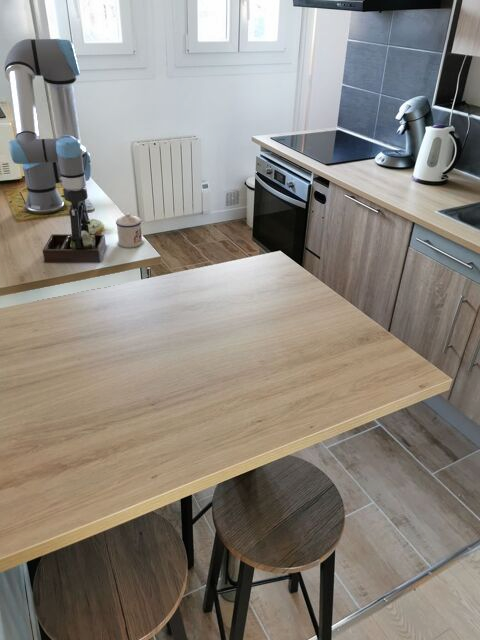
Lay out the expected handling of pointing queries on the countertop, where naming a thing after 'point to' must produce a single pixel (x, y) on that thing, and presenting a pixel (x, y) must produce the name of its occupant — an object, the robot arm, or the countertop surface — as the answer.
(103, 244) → the caddy
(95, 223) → the decorated donut
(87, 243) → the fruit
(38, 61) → the robot arm
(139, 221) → the teacup with lid
